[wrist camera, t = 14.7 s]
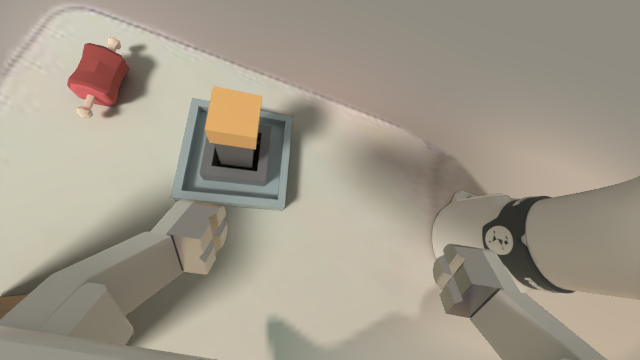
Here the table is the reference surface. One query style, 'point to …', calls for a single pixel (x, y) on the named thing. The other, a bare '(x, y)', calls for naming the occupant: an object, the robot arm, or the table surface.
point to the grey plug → (234, 126)
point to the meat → (98, 76)
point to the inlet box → (227, 183)
